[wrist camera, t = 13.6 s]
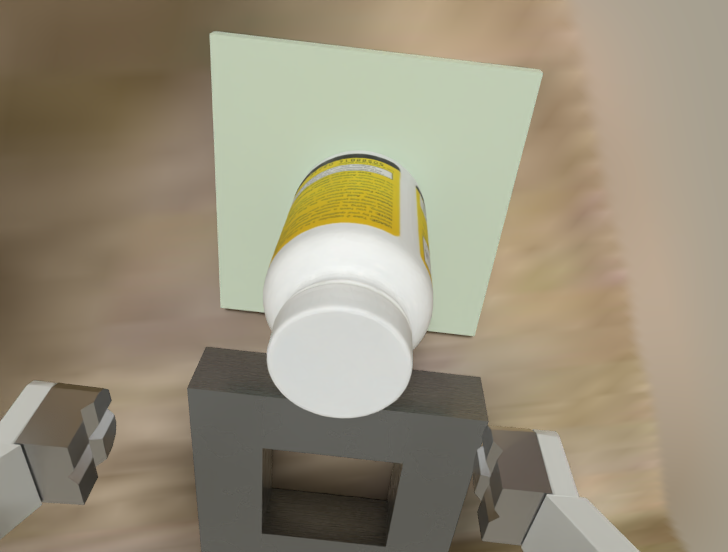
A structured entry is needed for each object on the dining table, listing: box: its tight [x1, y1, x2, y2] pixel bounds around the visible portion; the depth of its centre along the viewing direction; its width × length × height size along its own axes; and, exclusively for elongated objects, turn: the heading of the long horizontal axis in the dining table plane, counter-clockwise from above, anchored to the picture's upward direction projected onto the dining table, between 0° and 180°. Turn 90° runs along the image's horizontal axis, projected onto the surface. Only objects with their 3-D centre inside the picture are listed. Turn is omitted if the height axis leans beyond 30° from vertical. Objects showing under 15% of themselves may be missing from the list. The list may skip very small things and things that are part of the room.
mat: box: [210, 31, 543, 336], centre depth 24 cm, size 12×12×1 cm
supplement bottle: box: [263, 150, 433, 418], centre depth 19 cm, size 5×5×10 cm
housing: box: [187, 347, 489, 552], centre depth 31 cm, size 14×14×3 cm
